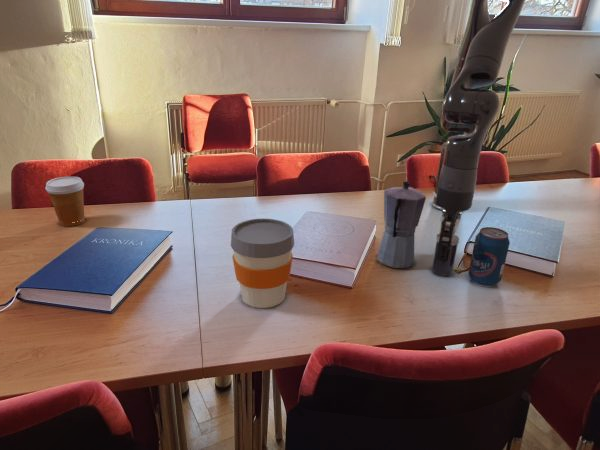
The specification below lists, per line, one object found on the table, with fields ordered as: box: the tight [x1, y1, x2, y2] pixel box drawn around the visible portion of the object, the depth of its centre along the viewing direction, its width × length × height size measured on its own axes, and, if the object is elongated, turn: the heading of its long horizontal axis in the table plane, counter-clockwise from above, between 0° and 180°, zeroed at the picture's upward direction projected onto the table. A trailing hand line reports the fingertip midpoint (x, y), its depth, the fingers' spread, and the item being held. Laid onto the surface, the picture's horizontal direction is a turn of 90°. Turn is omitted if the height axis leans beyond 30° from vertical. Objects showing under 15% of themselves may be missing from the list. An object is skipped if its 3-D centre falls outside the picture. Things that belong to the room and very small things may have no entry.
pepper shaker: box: [431, 233, 460, 277], centre depth 102 cm, size 5×5×9 cm
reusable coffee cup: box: [230, 218, 295, 309], centre depth 89 cm, size 13×13×15 cm
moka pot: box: [376, 180, 427, 269], centre depth 103 cm, size 10×15×20 cm, turn 161°
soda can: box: [468, 226, 511, 288], centre depth 98 cm, size 7×7×12 cm
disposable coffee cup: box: [44, 176, 86, 227], centre depth 122 cm, size 10×10×12 cm
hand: (444, 252), depth 102 cm, fingers open, 7 cm apart
